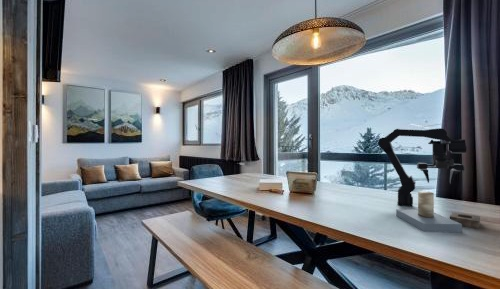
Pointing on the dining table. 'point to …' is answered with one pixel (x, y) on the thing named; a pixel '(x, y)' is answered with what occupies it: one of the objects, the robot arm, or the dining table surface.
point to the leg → (425, 204)
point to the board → (429, 221)
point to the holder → (466, 219)
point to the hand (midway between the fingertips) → (439, 183)
